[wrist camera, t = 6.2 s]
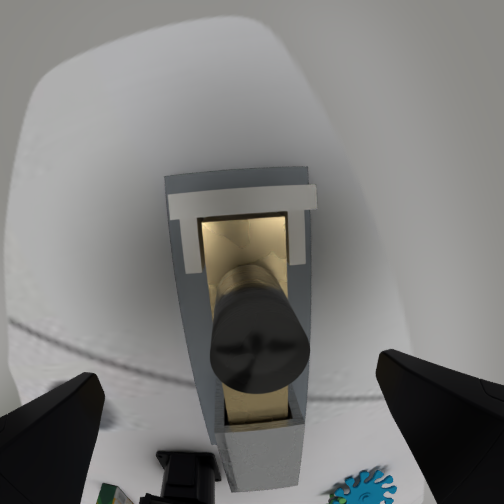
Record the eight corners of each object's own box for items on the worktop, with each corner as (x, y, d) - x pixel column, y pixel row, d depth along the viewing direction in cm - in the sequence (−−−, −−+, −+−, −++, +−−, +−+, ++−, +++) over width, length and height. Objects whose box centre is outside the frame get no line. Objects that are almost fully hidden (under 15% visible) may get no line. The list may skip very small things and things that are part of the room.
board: (301, 428, 23) (303, 435, 22) (211, 437, 22) (211, 444, 22) (303, 167, 18) (307, 166, 17) (167, 177, 17) (164, 176, 16)
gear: (398, 463, 26) (397, 514, 20) (386, 457, 31) (386, 503, 25) (324, 481, 27) (325, 532, 21) (320, 471, 32) (322, 518, 26)
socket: (287, 245, 18) (318, 276, 11) (196, 252, 17) (178, 288, 11) (284, 185, 17) (316, 184, 10) (190, 192, 16) (167, 194, 10)
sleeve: (285, 435, 22) (297, 485, 16) (229, 441, 22) (231, 492, 16) (286, 367, 20) (304, 423, 14) (216, 373, 19) (214, 433, 13)
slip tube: (278, 401, 19) (301, 494, 10) (231, 405, 18) (236, 501, 10) (272, 210, 15) (321, 235, 7) (207, 215, 15) (182, 246, 7)
